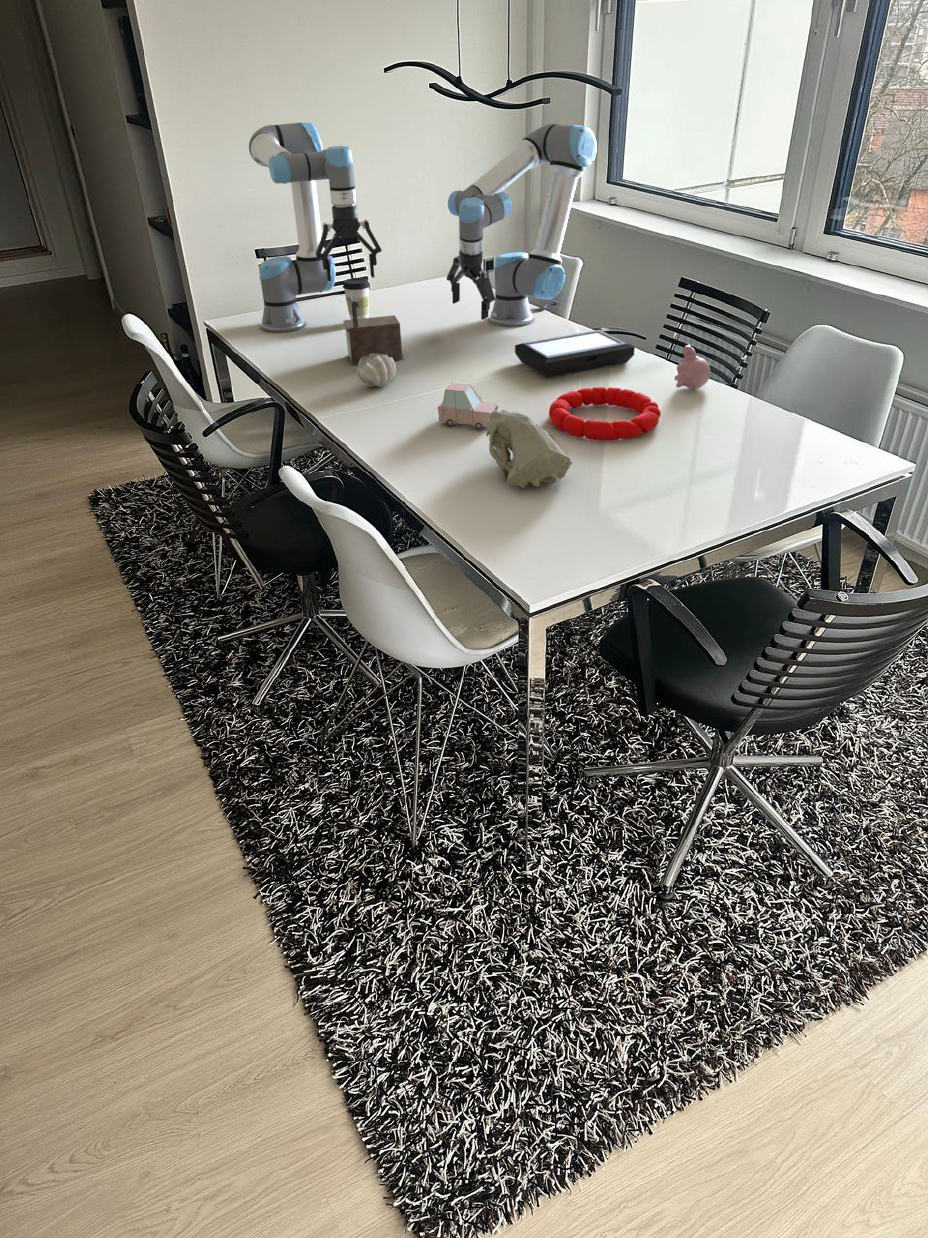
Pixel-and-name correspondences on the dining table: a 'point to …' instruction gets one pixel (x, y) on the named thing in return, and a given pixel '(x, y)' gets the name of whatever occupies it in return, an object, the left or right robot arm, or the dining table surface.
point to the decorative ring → (604, 428)
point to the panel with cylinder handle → (368, 320)
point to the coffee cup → (358, 296)
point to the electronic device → (574, 353)
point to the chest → (374, 343)
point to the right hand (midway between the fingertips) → (470, 309)
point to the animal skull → (525, 450)
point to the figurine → (692, 370)
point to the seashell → (376, 369)
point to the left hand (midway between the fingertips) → (351, 278)
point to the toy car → (465, 406)
